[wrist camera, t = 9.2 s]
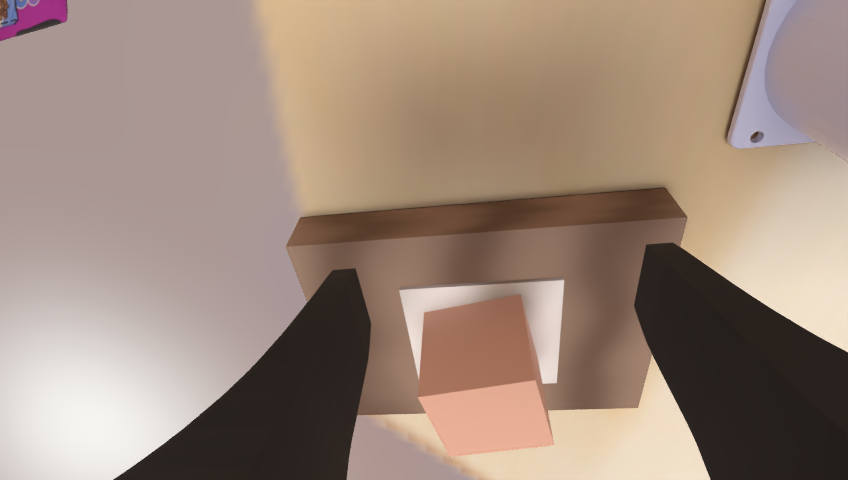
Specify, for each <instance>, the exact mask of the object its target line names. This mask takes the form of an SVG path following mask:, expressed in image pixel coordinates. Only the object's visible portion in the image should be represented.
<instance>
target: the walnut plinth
mask: <svg viewBox="0 0 848 480" xmlns="http://www.w3.org/2000/svg"><path fill="white" fill-rule="evenodd" d="M686 221H687V216H686V214H685V213H684V212H683V211H682V209H681V208H680V207H679V205H678V204H677V203H676V201H675V200H674V199H673V197H672V196H671V195H670V193H669V192H668V191H667V190H666V188H658V189H646V190H634V191H622V192H609V193H597V194H585V195H572V196H560V197H548V198H536V199H523V200H511V201H499V202H487V203H474V204H462V205H450V206H438V207H425V208H413V209H401V210H388V211H376V212H364V213H352V214H339V215H327V216H315V217H303V218H300V219H299V221H298V223H297V225H296V227H295V229H294V231H293V233H292V235H291V237H290V239H289V242H288V243H287V245H286V249H287V251H288V254H289V256H290V259H291V261H292V264H293V266H294V269H295V272H296V274H297V277H298V279H299V282H300V284H301V287H302V289H303V292H304V295H305V297H306V300H307V302H308V301H309V300H310V299H311V297H312V296H313V295H314V293H315V292H316V291H317V289H318V288H319V287H320V285H321V284H322V283H323V281H324V280H325V279H326V278H327V276H328V275H329V274H330V273H331V272H332V270H339V269H352V268H356V272H357V275H358V279H359V282H360V286H361V289H362V293H363V296H364V300H365V303H366V307H367V310H368V314H369V317H370V321H371V334H370V348H369V359H368V364H367V369H366V374H365V379H364V384H363V389H362V394H361V398H360V403H359V408H358V413H357V415H381V414H419V413H426V412H425V410H424V408H423V406H422V404H421V403H420V401H419V399H418V387H419V373H420V360H421V346H422V333H423V319H424V312H430V311H435V310H440V309H445V308H450V307H456V306H461V305H466V304H471V303H477V302H482V301H487V300H492V299H497V298H503V297H508V296H513V295H518V294H521V297H522V301H523V305H524V309H525V312H526V316H527V320H528V323H529V327H530V331H531V335H532V338H533V342H534V346H535V350H536V353H537V357H538V362H539V367H540V373H541V378H542V383H543V389H544V394H545V399H546V405H547V410H574V409H613V408H638V406H639V402H640V398H641V394H642V390H643V387H644V383H645V379H646V375H647V371H648V367H649V363H650V360H651V356H652V353H651V351H650V349H649V347H648V345H647V342H646V340H645V337H644V334H643V331H642V329H641V326H640V323H639V320H638V317H637V314H636V311H635V308H634V302H635V297H636V292H637V287H638V282H639V277H640V273H641V268H642V263H643V258H644V253H645V248H646V244H659V243H671V242H673V243H674V244H676V245H678V246H679V247H680V244H681V241H682V237H683V233H684V229H685V225H686Z"/></svg>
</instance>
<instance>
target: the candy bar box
mask: <svg viewBox="0 0 848 480" xmlns="http://www.w3.org/2000/svg"><path fill="white" fill-rule="evenodd" d="M66 20H67V0H0V41H2V40H5V39H8V38H11V37H15V36H20V35H23V34H26V33H29V32H33V31H37V30H40V29H44V28H47V27H50V26H54V25H57V24H60V23H63V22H66Z"/></svg>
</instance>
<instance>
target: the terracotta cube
mask: <svg viewBox="0 0 848 480" xmlns="http://www.w3.org/2000/svg"><path fill="white" fill-rule="evenodd" d="M418 399H419V401H420V403H421V404H422V406H423V408H424V410H425V412H426V414H427V415H428V417H429V419H430V421H431V423H432V424H433V426H434V428H435V430H436V432H437V434H438V435H439V437H440V439H441V441H442V443H443V445H444V446H445V448H446V450H447V452H448V454H449V456H450V457H452V456H461V455H470V454H479V453H488V452H497V451H505V450H514V449H523V448H532V447H541V446H549V445H554V442H553V437H552V431H551V426H550V421H549V415H548V410H547V405H546V399H545V394H544V389H543V383H542V378H541V373H540V367H539V362H538V357H537V353H536V350H535V346H534V342H533V338H532V335H531V331H530V327H529V323H528V320H527V316H526V312H525V309H524V305H523V301H522V297H521V294H518V295H513V296H508V297H503V298H497V299H492V300H487V301H482V302H477V303H471V304H466V305H461V306H456V307H450V308H445V309H440V310H435V311H430V312H424V319H423V333H422V346H421V360H420V373H419V387H418Z"/></svg>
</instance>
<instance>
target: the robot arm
mask: <svg viewBox="0 0 848 480" xmlns="http://www.w3.org/2000/svg"><path fill="white" fill-rule="evenodd" d="M758 131H759V133H758V135H757V136H756V137H755V138H753V139H750V137H751V136H752V134H754V133H755V132H758ZM727 141H728V143H729V144H730V145H731V146H732V147H734V148H737V149H744V148H755V147H766V146H777V145H788V144H799V143H811V142H817V143H819V144H820V145H822V146H824V147H825V148H827V149H828V150H830V151H831V152H833V153H834V154H836V155H838V156H839V157H841V158H842V159H844V160H845V161H847V162H848V0H766V4H765V7H764V11H763V14H762V18H761V21H760V25H759V28H758V32H757V35H756V39H755V42H754V46H753V49H752V53H751V56H750V60H749V63H748V67H747V70H746V74H745V77H744V80H743V84H742V87H741V91H740V94H739V98H738V101H737V105H736V108H735V112H734V115H733V119H732V122H731V126H730V129H729V133H728V137H727ZM634 308H635V311H636V314H637V317H638V320H639V323H640V326H641V329H642V331H643V334H644V337H645V340H646V342H647V345H648V347H649V349H650V351H651V353H652V355H653V357H654V359H655V361H656V363H657V365H658V367H659V369H660V371H661V373H662V375H663V377H664V379H665V381H666V383H667V385H668V386H669V388H670V390H671V392H672V394H673V396H674V398H675V400H676V402H677V404H678V406H679V408H680V410H681V412H682V414H683V416H684V418H685V420H686V422H687V424H688V426H689V428H690V430H691V432H692V435H693V437H694V439H695V441H696V443H697V446H698V448H699V451H700V453H701V456H702V459H703V461H704V464H705V466H706V469H707V471H708V474H709V477H710V479H711V480H848V352H846V351H844V350H842V349H840V348H838V347H837V346H835V345H833V344H831V343H829V342H827V341H825V340H823V339H822V338H820V337H818V336H816V335H814V334H813V333H811V332H809V331H807V330H806V329H804V328H802V327H801V326H799V325H797V324H796V323H794V322H792V321H791V320H789V319H787V318H786V317H784V316H782V315H781V314H779V313H777V312H776V311H774V310H772V309H771V308H769V307H768V306H766V305H765V304H763V303H761V302H760V301H758V300H757V299H755V298H754V297H752V296H751V295H749V294H748V293H746V292H745V291H743V290H742V289H740V288H739V287H737V286H736V285H734V284H733V283H731V282H730V281H728V280H727V279H725V278H724V277H723V276H721V275H720V274H718V273H717V272H715V271H714V270H713V269H711V268H710V267H708V266H707V265H705V264H704V263H702V262H701V261H700V260H698V259H697V258H695V257H694V256H692V255H691V254H690V253H688V252H687V251H685V250H684V249H682V248H681V247H679V246H678V245H676V244H674V243H673V242H671V243H659V244H646V248H645V253H644V258H643V263H642V268H641V273H640V277H639V282H638V287H637V292H636V297H635V302H634ZM370 334H371V321H370V317H369V314H368V310H367V307H366V303H365V300H364V296H363V293H362V289H361V286H360V282H359V279H358V275H357V272H356V268H352V269H339V270H332V272H331V273H330V274H329V275H328V276H327V278H326V279H325V280H324V281H323V283H322V284H321V285H320V287H319V288H318V289H317V291H316V292H315V293H314V295H313V296H312V297H311V299H310V300H309V301H308V302H307V304H306V305H305V306H304V308H303V309H302V310H301V311H300V313H299V314H298V315H297V316H296V318H295V319H294V320H293V321H292V323H291V324H290V325H289V326H288V327H287V329H286V330H285V331H284V332H283V333H282V335H281V336H280V337H279V338H278V339H277V340H276V341H275V343H274V344H273V345H272V346H271V347H270V348H269V349H268V351H267V352H266V353H265V354H264V355H263V356H262V357H261V358H260V359H259V361H258V362H257V363H256V364H255V365H254V366H253V367H252V368H251V369H250V370H249V371H248V372H247V373H246V374H245V375H244V376H243V377H242V378H241V379H240V380H239V381H238V382H236V383H235V384H234V385H233V386H232V387H231V388H230V389H229V390H228V391H227V392H226V393H225V394H224V395H223V396H222V397H220V398H219V399H218V400H217V401H216V402H214V403H213V404H212V405H211V406H210V407H209V408H208V409H206V410H205V411H204V412H203V413H202V414H200V415H199V416H198V417H197V418H196V419H194V420H193V421H192V422H191V423H190V424H189V425H187V426H186V427H185V428H184V429H183V430H181V431H180V432H179V433H177V434H176V435H175V436H173V437H172V438H171V439H169V440H168V441H167V442H166V443H164V444H163V445H162V446H160V447H159V448H158V449H156V450H155V451H154V452H152V453H151V454H149V455H148V456H147V457H145V458H144V459H143V460H141V461H140V462H138V463H137V464H136V465H134V466H133V467H131V468H130V469H128V470H127V471H126V472H124V473H123V474H121V475H120V476H118V477H117V478H115V479H114V480H346V479H347V470H348V461H349V454H350V448H351V441H352V436H353V432H354V427H355V422H356V417H357V413H358V408H359V403H360V398H361V394H362V389H363V384H364V379H365V374H366V369H367V364H368V359H369V348H370Z"/></svg>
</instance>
